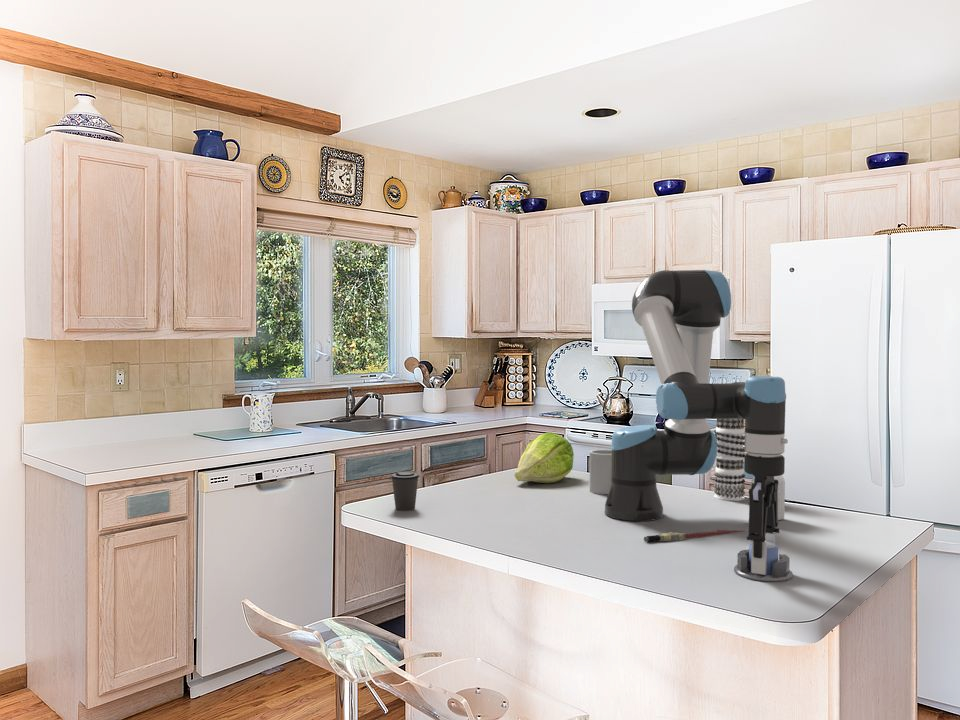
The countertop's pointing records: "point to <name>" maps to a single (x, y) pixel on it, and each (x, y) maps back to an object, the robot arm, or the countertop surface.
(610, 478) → the cup
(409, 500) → the coffee cup
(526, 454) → the lettuce
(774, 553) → the blue dome-topped cylinder
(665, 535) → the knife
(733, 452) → the decorative candle
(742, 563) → the disc
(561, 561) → the countertop surface
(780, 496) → the photo printer
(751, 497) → the robot arm
